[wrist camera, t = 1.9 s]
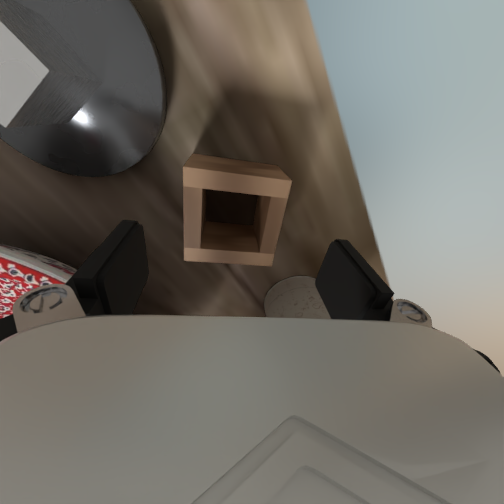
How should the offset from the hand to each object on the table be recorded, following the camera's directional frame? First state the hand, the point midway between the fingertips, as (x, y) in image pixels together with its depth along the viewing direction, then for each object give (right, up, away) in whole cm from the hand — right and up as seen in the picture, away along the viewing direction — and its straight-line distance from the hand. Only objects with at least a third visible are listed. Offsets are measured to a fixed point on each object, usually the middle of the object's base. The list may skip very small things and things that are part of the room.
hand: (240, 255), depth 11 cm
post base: (-11, +12, +3) cm, 17 cm away
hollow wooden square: (-1, +5, +9) cm, 10 cm away
